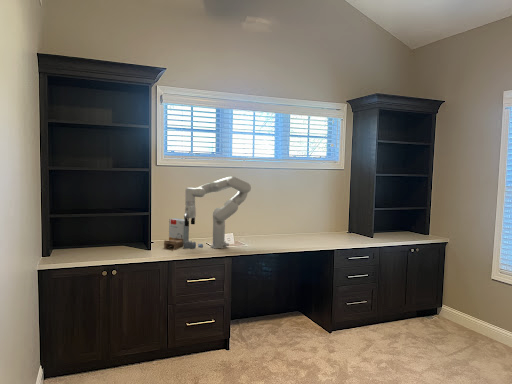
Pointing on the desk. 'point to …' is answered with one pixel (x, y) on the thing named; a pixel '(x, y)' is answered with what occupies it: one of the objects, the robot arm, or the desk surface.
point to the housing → (189, 245)
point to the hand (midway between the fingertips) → (189, 225)
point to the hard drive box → (178, 229)
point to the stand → (173, 243)
